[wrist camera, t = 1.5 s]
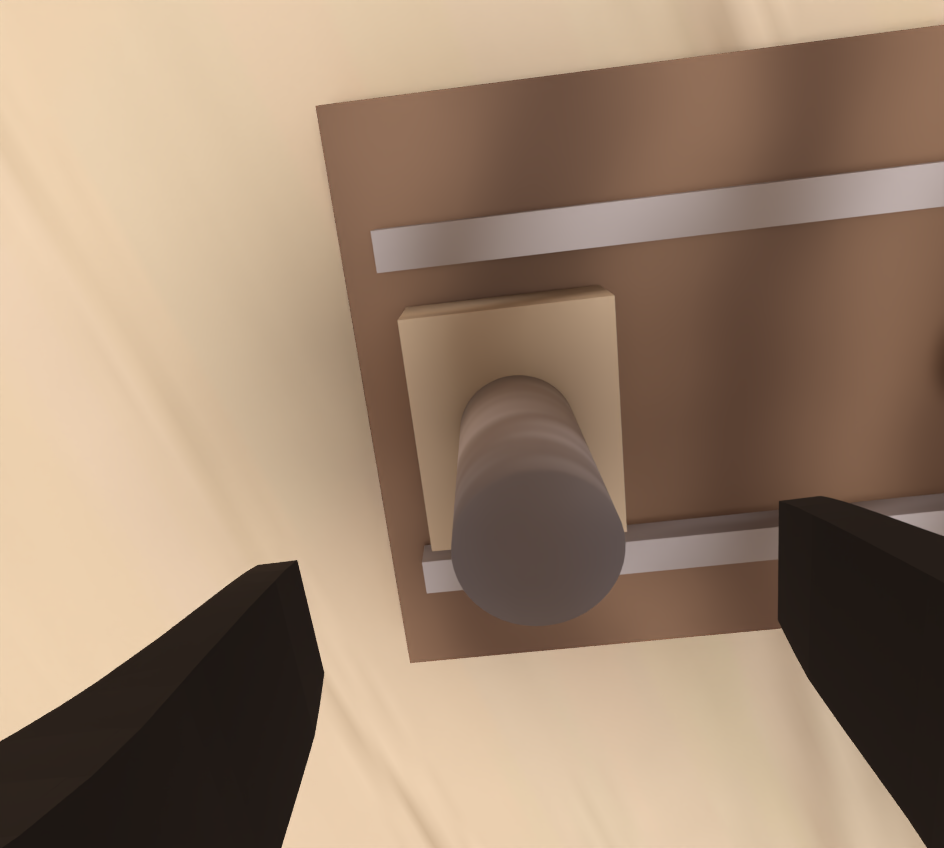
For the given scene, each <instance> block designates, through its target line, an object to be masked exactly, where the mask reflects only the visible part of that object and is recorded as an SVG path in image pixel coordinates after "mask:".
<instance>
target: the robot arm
mask: <svg viewBox="0 0 944 848" xmlns="http://www.w3.org/2000/svg"><path fill="white" fill-rule="evenodd" d="M778 622H779V624H780V626H781V628H782V630H783V632H784V634H785V635H786V637H787V639H788V641H789V643H790V645H791V647H792V649H793V651H794V653H795V655H796V657H797V659H798V661H799V662H800V664H801V666H802V668H803V670H804V672H805V674H806V675H807V677H808V679H809V680H810V682H811V683H812V685H813V686H814V688H815V689H816V691H817V692H818V694H819V695H820V696H821V698H822V699H823V701H824V702H825V703H826V705H827V706H828V708H829V709H830V711H831V712H832V713H833V715H834V716H835V718H836V719H837V721H838V722H839V723H840V725H841V726H842V728H843V729H844V730H845V732H846V733H847V735H848V736H849V737H850V739H851V740H852V742H853V743H854V744H855V746H856V747H857V748H858V750H859V751H860V753H861V754H862V755H863V757H864V758H865V760H866V761H867V762H868V764H869V765H870V767H871V768H872V769H873V771H874V772H875V774H876V775H877V776H878V778H879V779H880V781H881V782H882V783H883V785H884V786H885V788H886V789H887V790H888V792H889V793H890V794H891V796H892V797H893V799H894V800H895V801H896V803H897V804H898V806H899V807H900V808H901V810H902V811H903V813H904V814H905V815H906V817H907V818H908V820H909V821H910V823H911V824H912V826H913V827H914V829H915V830H916V832H917V833H918V835H919V836H920V838H921V839H922V841H923V842H924V844H925V845H926V847H927V848H944V536H942V535H939V534H936V533H934V532H931V531H928V530H925V529H922V528H920V527H917V526H914V525H911V524H908V523H906V522H903V521H900V520H897V519H894V518H892V517H889V516H886V515H883V514H880V513H877V512H875V511H872V510H869V509H866V508H863V507H860V506H857V505H854V504H851V503H847V502H844V501H841V500H837V499H833V498H829V497H824V496H815V497H807V498H798V499H790V500H782V501H779V534H778ZM323 679H324V670H323V666H322V662H321V658H320V653H319V649H318V645H317V641H316V637H315V633H314V628H313V624H312V620H311V616H310V612H309V607H308V603H307V599H306V595H305V591H304V587H303V582H302V578H301V574H300V570H299V566H298V562H297V560H295V561H287V562H279V563H271V564H263V565H257V566H255V567H254V568H252V569H250V570H249V571H247V572H245V573H244V574H243V575H241V576H240V577H238V578H237V579H235V580H234V581H233V582H231V583H230V584H229V585H227V586H226V587H225V588H223V589H222V590H221V591H219V592H218V593H217V594H215V595H214V596H213V597H212V598H210V599H209V600H208V601H206V602H205V603H204V604H203V605H201V606H200V607H199V608H197V609H196V610H195V611H193V612H192V613H191V614H189V615H188V616H187V617H186V618H184V619H183V620H182V621H180V622H179V623H178V624H176V625H175V626H174V627H172V628H171V629H170V630H169V631H167V632H166V633H165V634H163V635H162V636H161V637H159V638H158V639H157V640H155V641H154V642H152V643H151V644H150V645H148V646H147V647H145V648H144V649H143V650H141V651H140V652H138V653H137V654H136V655H134V656H133V657H131V658H130V659H129V660H127V661H126V662H124V663H123V664H122V665H120V666H119V667H117V668H116V669H114V670H113V671H112V672H110V673H109V674H107V675H106V676H105V677H103V678H102V679H100V680H99V681H98V682H96V683H95V684H93V685H92V686H90V687H89V688H87V689H86V690H84V691H83V692H81V693H79V694H78V695H76V696H75V697H73V698H72V699H70V700H69V701H67V702H65V703H64V704H62V705H61V706H59V707H57V708H56V709H54V710H52V711H51V712H49V713H47V714H46V715H44V716H42V717H41V718H39V719H38V720H36V721H34V722H33V723H31V724H29V725H28V726H26V727H24V728H23V729H21V730H19V731H18V732H16V733H14V734H12V735H11V736H9V737H7V738H5V739H4V740H2V741H0V848H281V847H282V844H283V840H284V837H285V834H286V830H287V827H288V824H289V821H290V817H291V814H292V811H293V807H294V804H295V801H296V797H297V794H298V791H299V788H300V784H301V781H302V777H303V774H304V771H305V767H306V764H307V760H308V757H309V753H310V750H311V746H312V743H313V739H314V736H315V730H316V724H317V719H318V713H319V707H320V700H321V693H322V686H323Z"/></svg>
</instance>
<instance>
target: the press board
mask: <svg viewBox="0 0 944 848" xmlns="http://www.w3.org/2000/svg"><path fill="white" fill-rule="evenodd" d="M316 111H317V117H318V123H319V129H320V134H321V140H322V146H323V152H324V158H325V164H326V170H327V176H328V182H329V187H330V193H331V199H332V205H333V211H334V217H335V223H336V229H337V235H338V240H339V246H340V252H341V258H342V264H343V270H344V276H345V282H346V288H347V293H348V299H349V305H350V311H351V317H352V323H353V329H354V335H355V341H356V346H357V352H358V358H359V364H360V370H361V376H362V382H363V388H364V394H365V399H366V405H367V411H368V417H369V423H370V429H371V435H372V441H373V446H374V452H375V458H376V464H377V470H378V476H379V482H380V488H381V494H382V499H383V505H384V511H385V517H386V523H387V529H388V535H389V541H390V547H391V552H392V558H393V564H394V570H395V576H396V582H397V588H398V594H399V600H400V605H401V611H402V617H403V623H404V629H405V635H406V641H407V647H408V653H409V658H410V663H415V662H426V661H436V660H447V659H458V658H468V657H479V656H490V655H501V654H511V653H522V652H533V651H544V650H554V649H565V648H576V647H587V646H597V645H608V644H619V643H630V642H640V641H651V640H662V639H672V638H683V637H694V636H705V635H715V634H726V633H737V632H748V631H758V630H769V629H780V628H781V626H780V624H779V622H778V534H779V501H782V500H790V499H798V498H807V497H815V496H824V497H829V498H833V499H837V500H841V501H844V502H847V503H851V504H854V505H857V506H860V507H863V508H866V509H869V510H872V511H875V512H877V513H880V514H883V515H886V516H889V517H892V518H894V519H897V520H900V521H903V522H906V523H908V524H911V525H914V526H917V527H920V528H922V529H925V530H928V531H931V532H934V533H936V534H939V535H942V536H944V25H939V26H931V27H924V28H916V29H908V30H900V31H893V32H885V33H877V34H869V35H862V36H854V37H846V38H838V39H831V40H823V41H815V42H807V43H800V44H792V45H784V46H776V47H768V48H761V49H753V50H745V51H737V52H730V53H722V54H714V55H706V56H699V57H691V58H683V59H675V60H668V61H660V62H652V63H644V64H637V65H629V66H621V67H613V68H606V69H598V70H590V71H582V72H575V73H567V74H559V75H551V76H544V77H536V78H528V79H520V80H513V81H505V82H497V83H489V84H482V85H474V86H466V87H458V88H451V89H443V90H435V91H427V92H420V93H412V94H404V95H396V96H389V97H381V98H373V99H365V100H357V101H350V102H342V103H334V104H326V105H319V106H316ZM595 285H601V286H602V287H604V288H605V289H606V290H608V291H609V292H610V293H612V294H613V295H615V312H616V331H617V351H618V370H619V389H620V408H621V427H622V447H623V466H624V485H625V504H626V523H627V532H624V534H625V542H626V546H625V558H624V563H623V566H622V570H621V573H620V575H619V577H618V579H617V581H616V583H615V584H614V586H613V587H612V589H611V590H610V592H609V593H608V594H607V595H606V596H605V597H604V599H602V600H601V601H600V602H599V603H598V604H597V605H596V606H594V607H593V608H592V609H590V610H589V611H587V612H586V613H584V614H582V615H580V616H578V617H576V618H574V619H571V620H569V621H566V622H562V623H558V624H553V625H547V626H526V625H519V624H514V623H510V622H507V621H504V620H501V619H499V618H497V617H495V616H492V615H491V614H489V613H487V612H486V611H484V610H483V609H481V608H480V607H479V606H478V605H476V604H475V603H474V602H473V601H472V600H471V599H470V598H469V597H468V595H467V594H466V593H465V591H464V590H463V589H462V587H461V585H460V583H459V581H458V580H457V577H456V574H455V572H454V569H453V564H452V559H451V550H441V551H432V548H431V541H430V535H429V528H428V521H427V515H426V508H425V501H424V495H423V488H422V481H421V475H420V468H419V461H418V454H417V448H416V441H415V434H414V428H413V421H412V414H411V408H410V401H409V394H408V388H407V381H406V374H405V368H404V361H403V354H402V347H401V341H400V334H399V327H398V321H397V320H398V319H399V317H400V316H401V314H402V313H403V311H404V310H405V308H406V307H413V306H422V305H430V304H439V303H448V302H456V301H465V300H474V299H482V298H491V297H500V296H508V295H517V294H526V293H534V292H543V291H552V290H560V289H569V288H578V287H586V286H595Z"/></svg>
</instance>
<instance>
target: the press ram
mask: <svg viewBox="0 0 944 848" xmlns="http://www.w3.org/2000/svg"><path fill="white" fill-rule="evenodd" d="M397 321H398V327H399V334H400V341H401V347H402V354H403V361H404V368H405V374H406V381H407V388H408V394H409V401H410V408H411V414H412V421H413V428H414V434H415V441H416V448H417V454H418V461H419V468H420V475H421V481H422V488H423V495H424V501H425V508H426V515H427V521H428V528H429V535H430V541H431V548H432V551H441V550H451V559H452V564H453V569H454V572H455V574H456V577H457V580H458V581H459V583H460V585H461V587H462V589H463V590H464V591H465V593H466V594H467V595H468V597H469V598H470V599H471V600H472V601H473V602H474V603H475V604H476V605H478V606H479V607H480V608H481V609H483V610H484V611H486V612H487V613H489V614H491V615H492V616H495V617H497V618H499V619H501V620H504V621H507V622H510V623H514V624H519V625H526V626H547V625H553V624H558V623H562V622H566V621H569V620H571V619H574V618H576V617H578V616H580V615H582V614H584V613H586V612H587V611H589V610H590V609H592V608H593V607H594V606H596V605H597V604H598V603H599V602H600V601H601V600H602V599H604V597H605V596H606V595H607V594H608V593H609V592H610V590H611V589H612V587H613V586H614V584H615V583H616V581H617V579H618V577H619V575H620V573H621V570H622V566H623V563H624V558H625V546H626V542H625V534H624V532H627V523H626V504H625V485H624V466H623V447H622V427H621V408H620V389H619V370H618V351H617V331H616V312H615V295H613V294H612V293H610V292H609V291H608V290H606V289H605V288H604V287H602V286H601V285H595V286H586V287H578V288H569V289H560V290H552V291H543V292H534V293H526V294H517V295H508V296H500V297H491V298H482V299H474V300H465V301H456V302H448V303H439V304H430V305H422V306H413V307H406V308H405V310H404V311H403V313H402V314H401V316H400V317H399V319H398V320H397Z"/></svg>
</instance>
